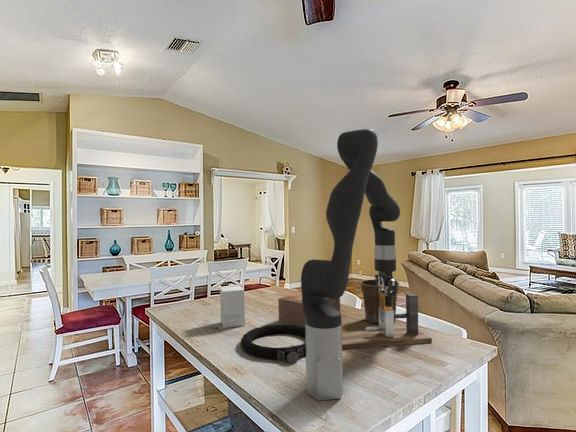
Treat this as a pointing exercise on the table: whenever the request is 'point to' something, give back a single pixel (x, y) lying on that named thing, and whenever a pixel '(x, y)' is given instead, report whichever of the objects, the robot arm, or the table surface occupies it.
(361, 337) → the board
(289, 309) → the tissue box cover
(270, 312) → the table surface
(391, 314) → the end link
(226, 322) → the supplement box
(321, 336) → the robot arm
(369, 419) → the table surface
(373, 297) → the plant pot
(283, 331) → the cable lock
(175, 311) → the table surface
